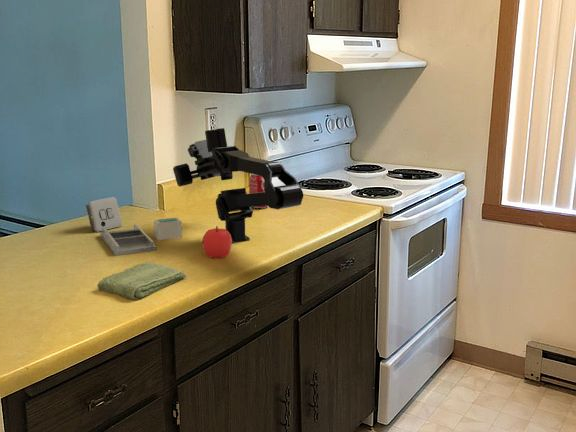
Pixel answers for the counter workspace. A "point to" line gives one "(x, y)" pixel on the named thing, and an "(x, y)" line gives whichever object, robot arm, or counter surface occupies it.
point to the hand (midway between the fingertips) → (190, 173)
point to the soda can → (256, 186)
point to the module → (167, 228)
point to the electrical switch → (104, 214)
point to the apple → (217, 242)
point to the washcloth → (140, 280)
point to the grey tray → (127, 241)
